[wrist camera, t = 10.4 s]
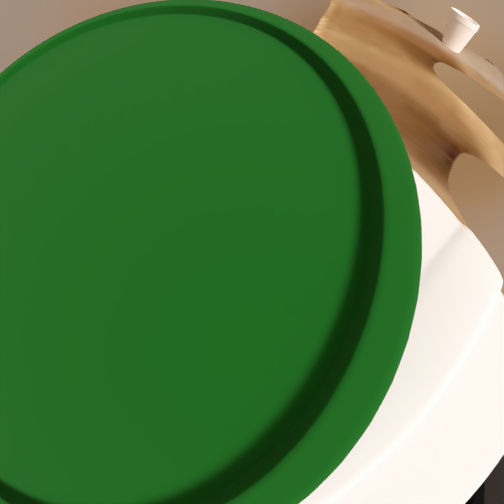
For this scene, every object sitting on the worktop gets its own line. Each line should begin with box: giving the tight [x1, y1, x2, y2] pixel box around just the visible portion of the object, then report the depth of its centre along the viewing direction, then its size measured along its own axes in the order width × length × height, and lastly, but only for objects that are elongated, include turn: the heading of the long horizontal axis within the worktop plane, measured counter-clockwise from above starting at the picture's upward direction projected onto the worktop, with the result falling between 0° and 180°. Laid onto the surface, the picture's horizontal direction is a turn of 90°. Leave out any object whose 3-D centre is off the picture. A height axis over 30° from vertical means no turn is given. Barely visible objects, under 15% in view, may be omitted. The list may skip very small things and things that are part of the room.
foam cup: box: [442, 7, 480, 53], centre depth 42 cm, size 10×9×13 cm
